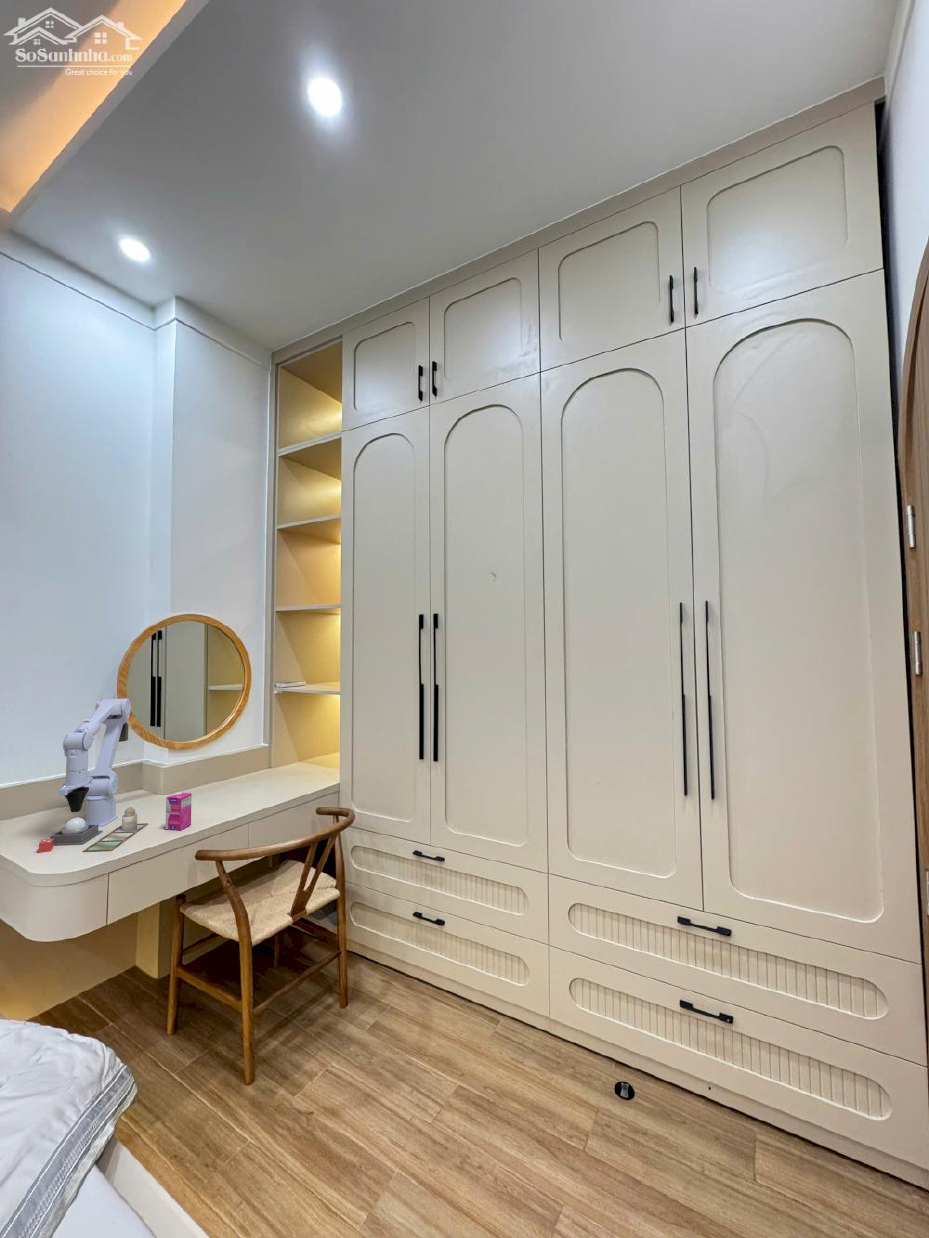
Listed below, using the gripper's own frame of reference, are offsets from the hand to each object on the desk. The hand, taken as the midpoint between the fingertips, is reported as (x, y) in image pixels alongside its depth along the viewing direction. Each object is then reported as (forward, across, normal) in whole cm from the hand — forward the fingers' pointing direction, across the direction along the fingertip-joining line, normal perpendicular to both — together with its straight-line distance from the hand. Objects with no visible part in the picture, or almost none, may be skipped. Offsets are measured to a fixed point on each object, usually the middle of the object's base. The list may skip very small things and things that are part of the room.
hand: (75, 811), depth 171 cm
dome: (+8, 0, 0) cm, 8 cm away
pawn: (+9, -7, +13) cm, 17 cm away
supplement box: (+9, -7, +29) cm, 31 cm away
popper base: (+9, 0, 0) cm, 9 cm away
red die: (+9, +9, -3) cm, 13 cm away
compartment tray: (+9, 0, +13) cm, 16 cm away
